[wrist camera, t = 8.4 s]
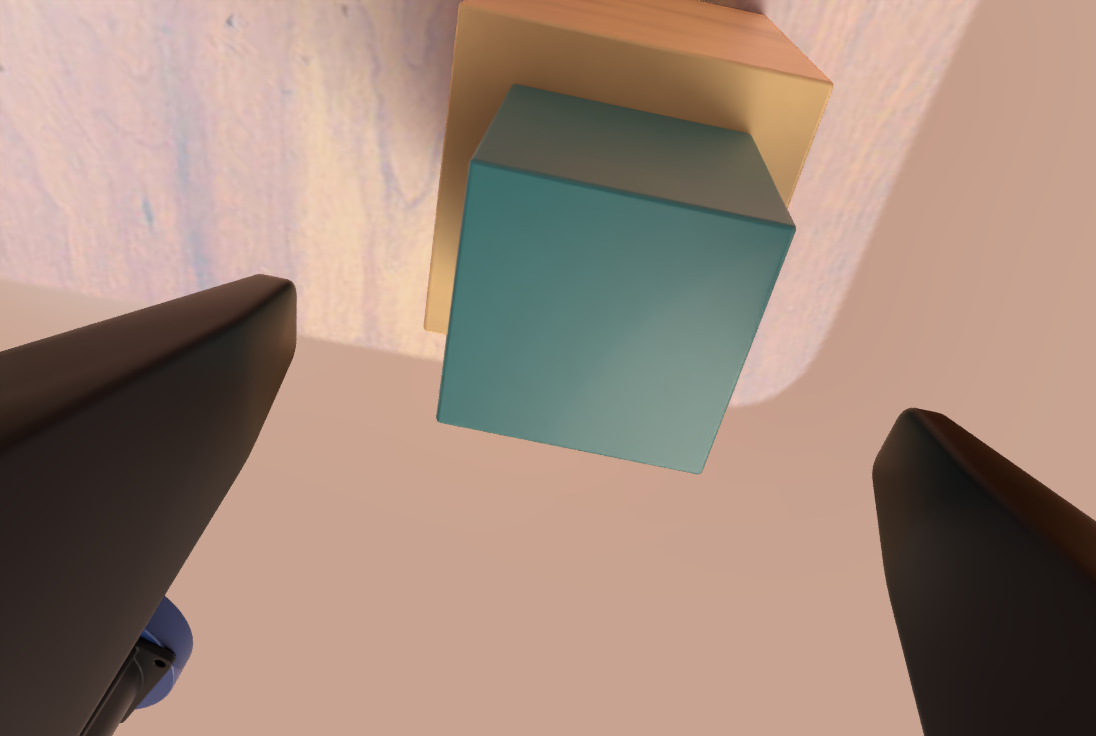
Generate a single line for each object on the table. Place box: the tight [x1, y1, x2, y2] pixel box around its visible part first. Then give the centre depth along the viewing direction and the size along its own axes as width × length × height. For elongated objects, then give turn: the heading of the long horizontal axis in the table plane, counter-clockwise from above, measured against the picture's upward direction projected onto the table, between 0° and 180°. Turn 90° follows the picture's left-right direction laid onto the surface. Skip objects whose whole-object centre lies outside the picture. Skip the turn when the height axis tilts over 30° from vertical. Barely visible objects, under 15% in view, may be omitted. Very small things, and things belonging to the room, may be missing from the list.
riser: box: [424, 0, 833, 335], centre depth 16 cm, size 6×6×7 cm
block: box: [436, 84, 796, 474], centre depth 12 cm, size 4×4×4 cm
